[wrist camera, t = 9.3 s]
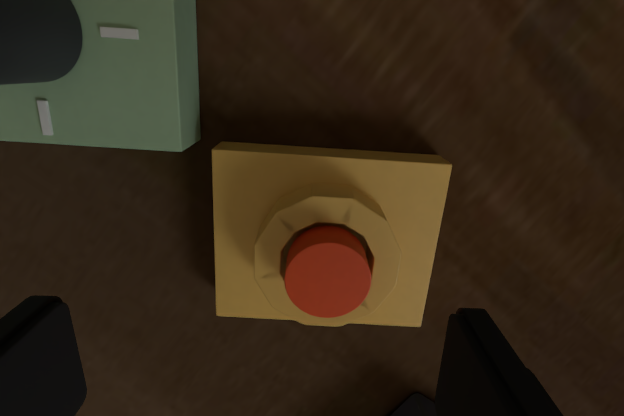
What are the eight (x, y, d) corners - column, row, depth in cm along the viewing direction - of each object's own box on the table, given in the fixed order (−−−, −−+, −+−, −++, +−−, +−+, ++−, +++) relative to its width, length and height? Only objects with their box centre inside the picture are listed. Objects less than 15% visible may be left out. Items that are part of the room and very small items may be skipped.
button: (285, 293, 18) (282, 315, 16) (288, 222, 17) (285, 239, 15) (361, 297, 18) (366, 320, 16) (370, 227, 17) (376, 245, 15)
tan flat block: (224, 295, 22) (206, 341, 18) (221, 141, 19) (198, 159, 15) (411, 305, 22) (431, 353, 19) (439, 154, 19) (469, 176, 16)
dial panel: (-23, 125, 19) (-86, 136, 16) (-75, -96, 16) (-165, -133, 13) (201, 139, 19) (180, 153, 16) (193, -76, 16) (165, -108, 13)
